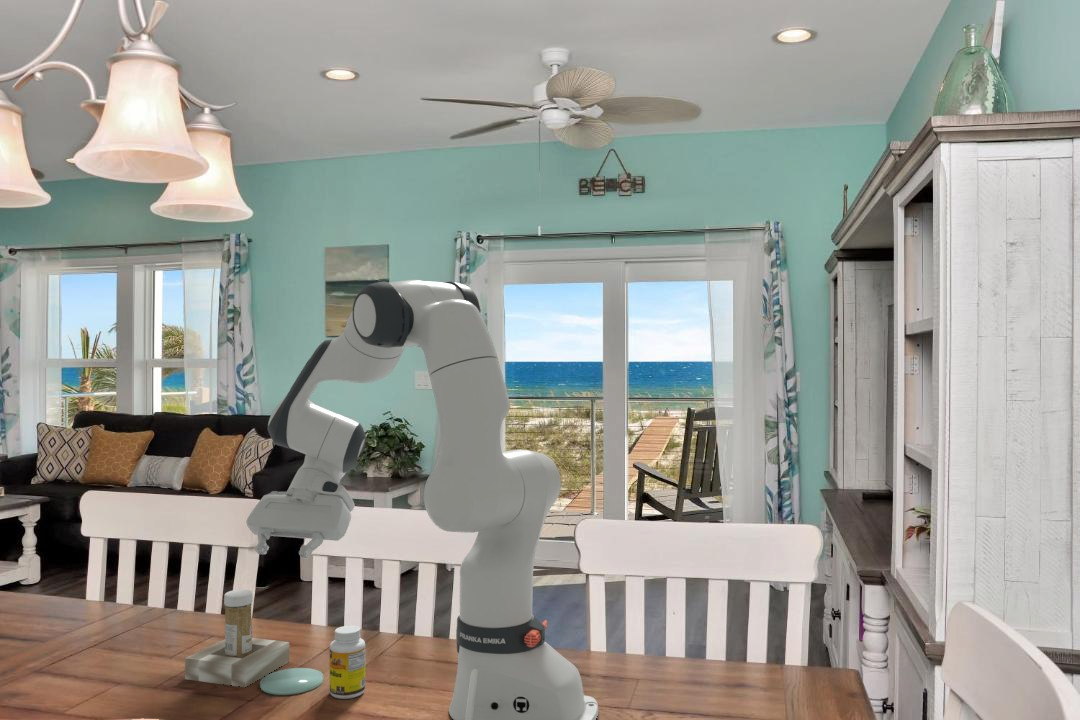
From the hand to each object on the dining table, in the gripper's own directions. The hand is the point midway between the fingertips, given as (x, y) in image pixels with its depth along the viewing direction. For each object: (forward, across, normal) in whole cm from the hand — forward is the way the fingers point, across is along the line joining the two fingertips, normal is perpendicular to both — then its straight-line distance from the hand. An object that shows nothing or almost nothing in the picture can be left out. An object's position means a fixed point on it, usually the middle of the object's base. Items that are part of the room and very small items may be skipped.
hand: (281, 554), depth 154 cm
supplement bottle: (+23, +23, +1) cm, 33 cm away
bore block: (+21, 0, +3) cm, 21 cm away
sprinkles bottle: (+21, 0, +4) cm, 21 cm away
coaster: (+22, +12, +2) cm, 25 cm away
